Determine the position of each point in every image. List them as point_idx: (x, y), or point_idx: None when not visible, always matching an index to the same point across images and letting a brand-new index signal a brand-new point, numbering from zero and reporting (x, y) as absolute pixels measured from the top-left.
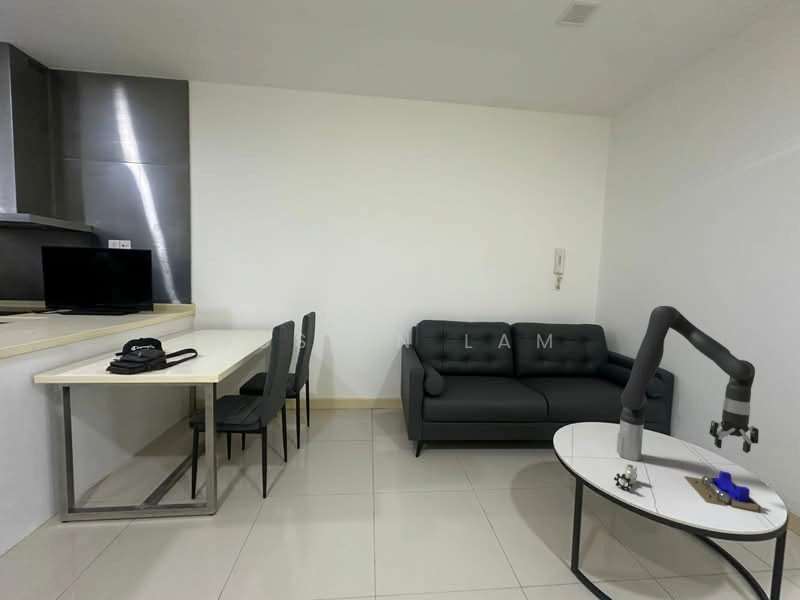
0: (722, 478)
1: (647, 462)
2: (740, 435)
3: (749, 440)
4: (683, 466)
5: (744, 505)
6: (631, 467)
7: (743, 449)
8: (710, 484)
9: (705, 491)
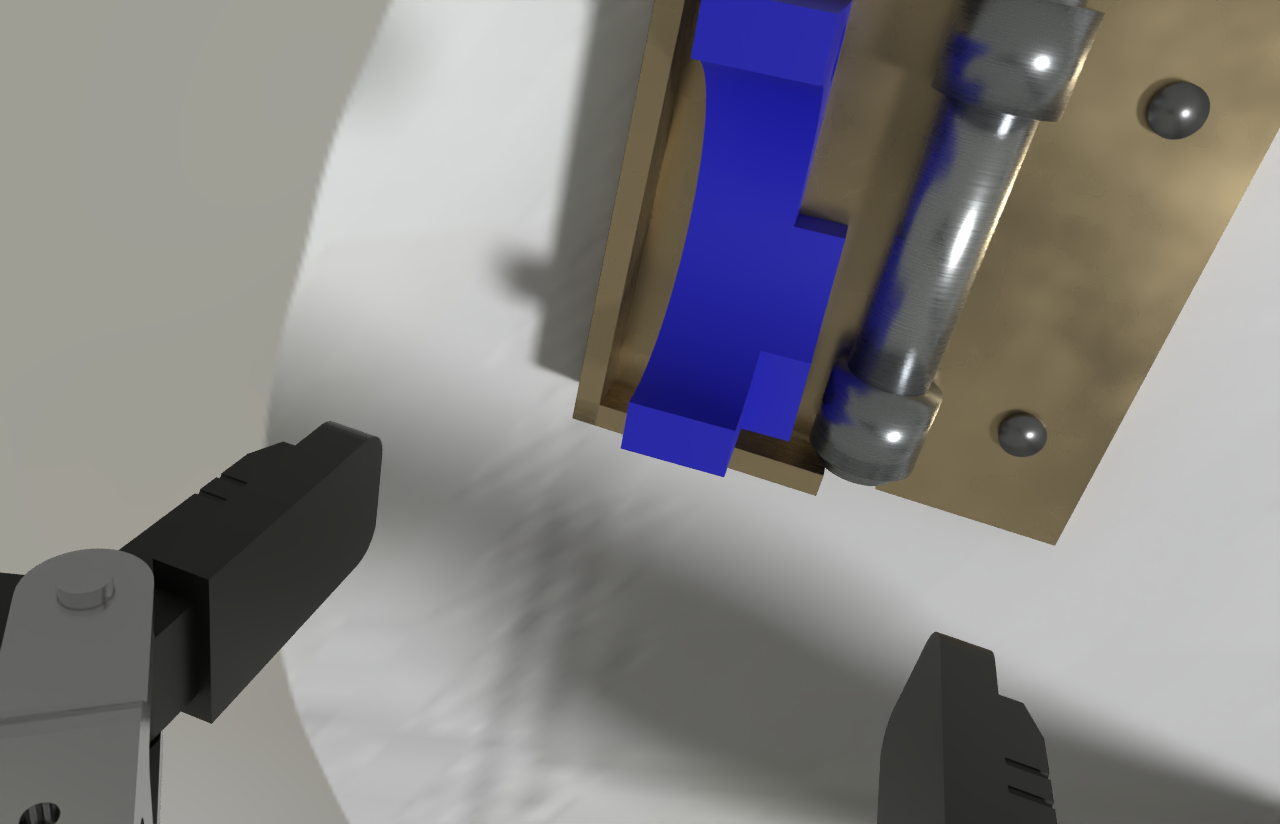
0: (750, 382)
1: (1242, 812)
2: None
3: (39, 652)
4: (829, 718)
5: None
6: None
7: (352, 544)
8: (946, 329)
9: (1111, 221)
